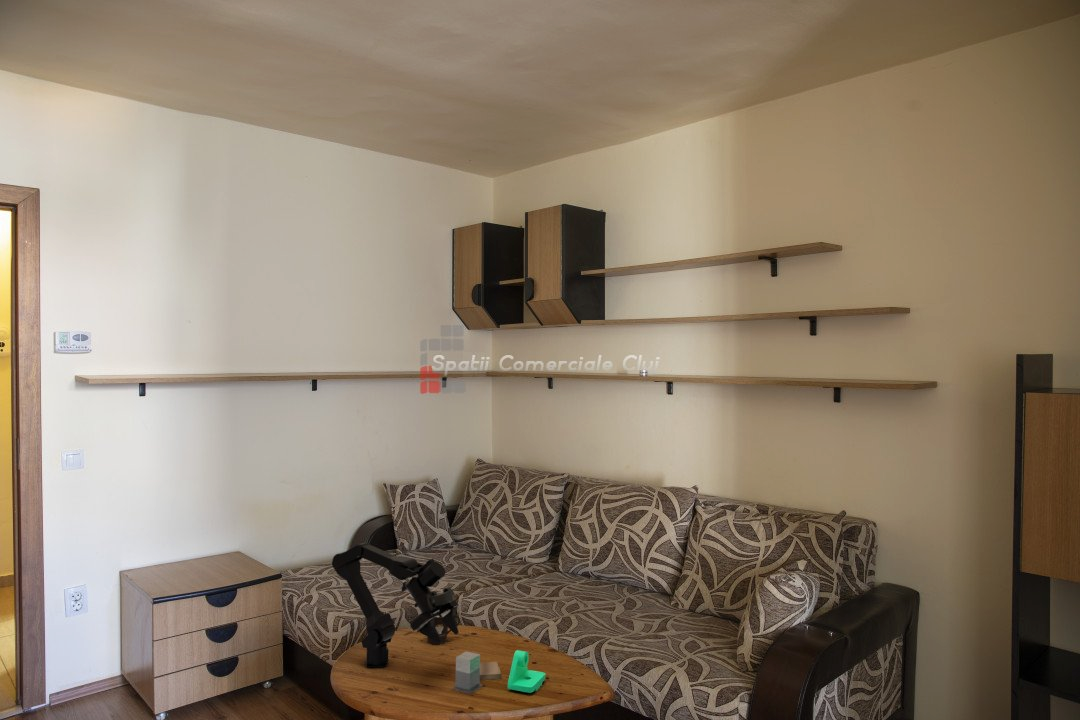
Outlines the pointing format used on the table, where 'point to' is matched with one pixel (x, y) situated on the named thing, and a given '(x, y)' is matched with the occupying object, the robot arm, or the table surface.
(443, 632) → the coffee mug
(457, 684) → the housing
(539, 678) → the camera mount
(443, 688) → the table surface
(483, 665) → the stand
